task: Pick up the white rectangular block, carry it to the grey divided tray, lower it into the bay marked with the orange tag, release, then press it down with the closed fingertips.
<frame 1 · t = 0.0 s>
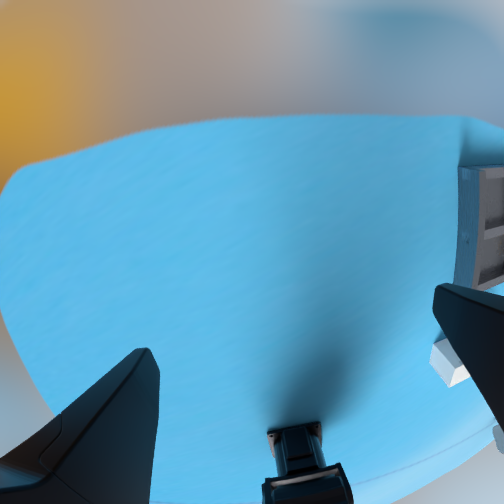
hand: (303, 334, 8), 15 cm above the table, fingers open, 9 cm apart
grey divided tray: (490, 225, 24), on the table
white rectangular block: (452, 343, 29), on the table
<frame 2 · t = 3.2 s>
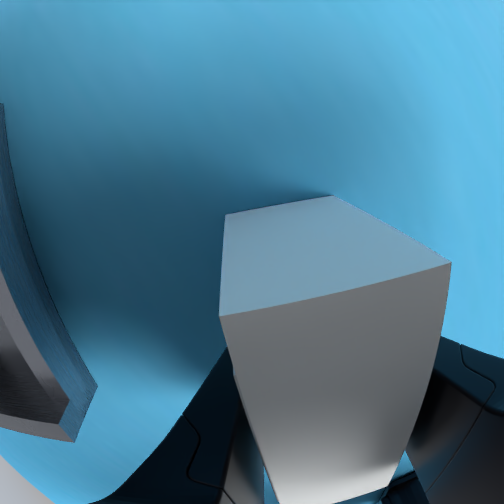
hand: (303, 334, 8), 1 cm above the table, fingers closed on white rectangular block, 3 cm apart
white rectangular block: (296, 314, 9), on the table, touching gripper
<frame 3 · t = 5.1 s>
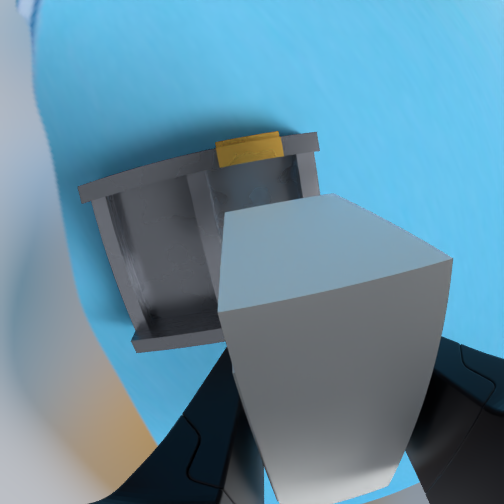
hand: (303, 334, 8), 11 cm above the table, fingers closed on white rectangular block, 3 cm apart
grey divided tray: (214, 240, 19), on the table
white rectangular block: (296, 313, 9), point 10 cm above the table, touching gripper
when the fingers open (3 cm above the table, at t = 6.8 s): white rectangular block drops 1 cm, resting on grey divided tray.
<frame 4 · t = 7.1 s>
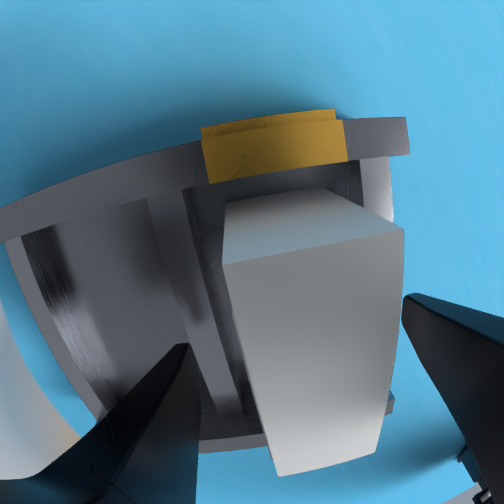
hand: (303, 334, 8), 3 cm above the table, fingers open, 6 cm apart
grey divided tray: (205, 302, 11), on the table
white rectangular block: (288, 293, 10), point 1 cm above the table, touching grey divided tray
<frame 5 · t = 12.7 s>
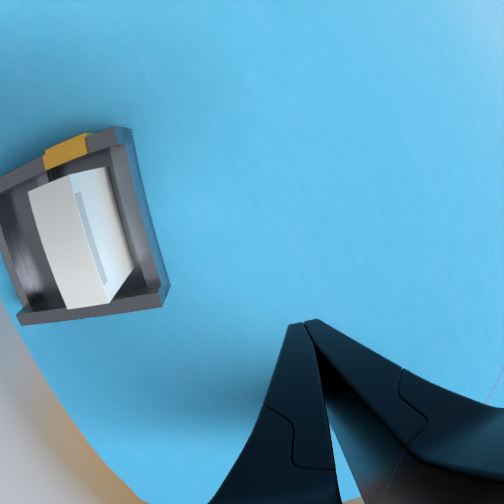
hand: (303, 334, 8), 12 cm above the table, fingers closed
grey divided tray: (70, 231, 18), on the table
white rectangular block: (100, 223, 18), point 1 cm above the table, touching grey divided tray
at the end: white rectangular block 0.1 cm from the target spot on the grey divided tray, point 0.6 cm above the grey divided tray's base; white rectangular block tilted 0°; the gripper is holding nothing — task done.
